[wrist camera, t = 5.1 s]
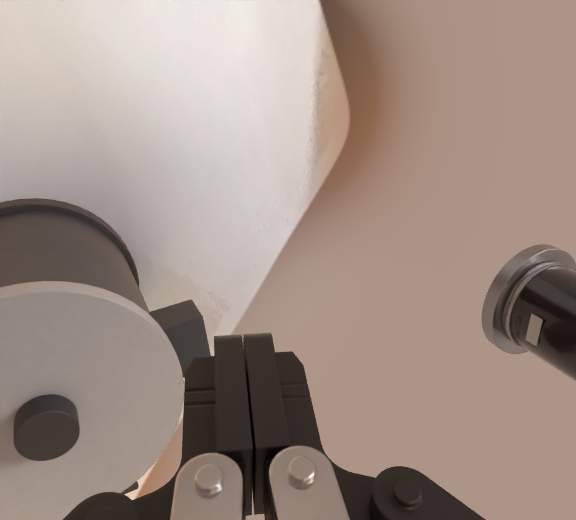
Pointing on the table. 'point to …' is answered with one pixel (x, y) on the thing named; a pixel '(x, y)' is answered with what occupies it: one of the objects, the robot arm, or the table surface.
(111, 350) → the kettle jug
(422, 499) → the robot arm
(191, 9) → the table surface
